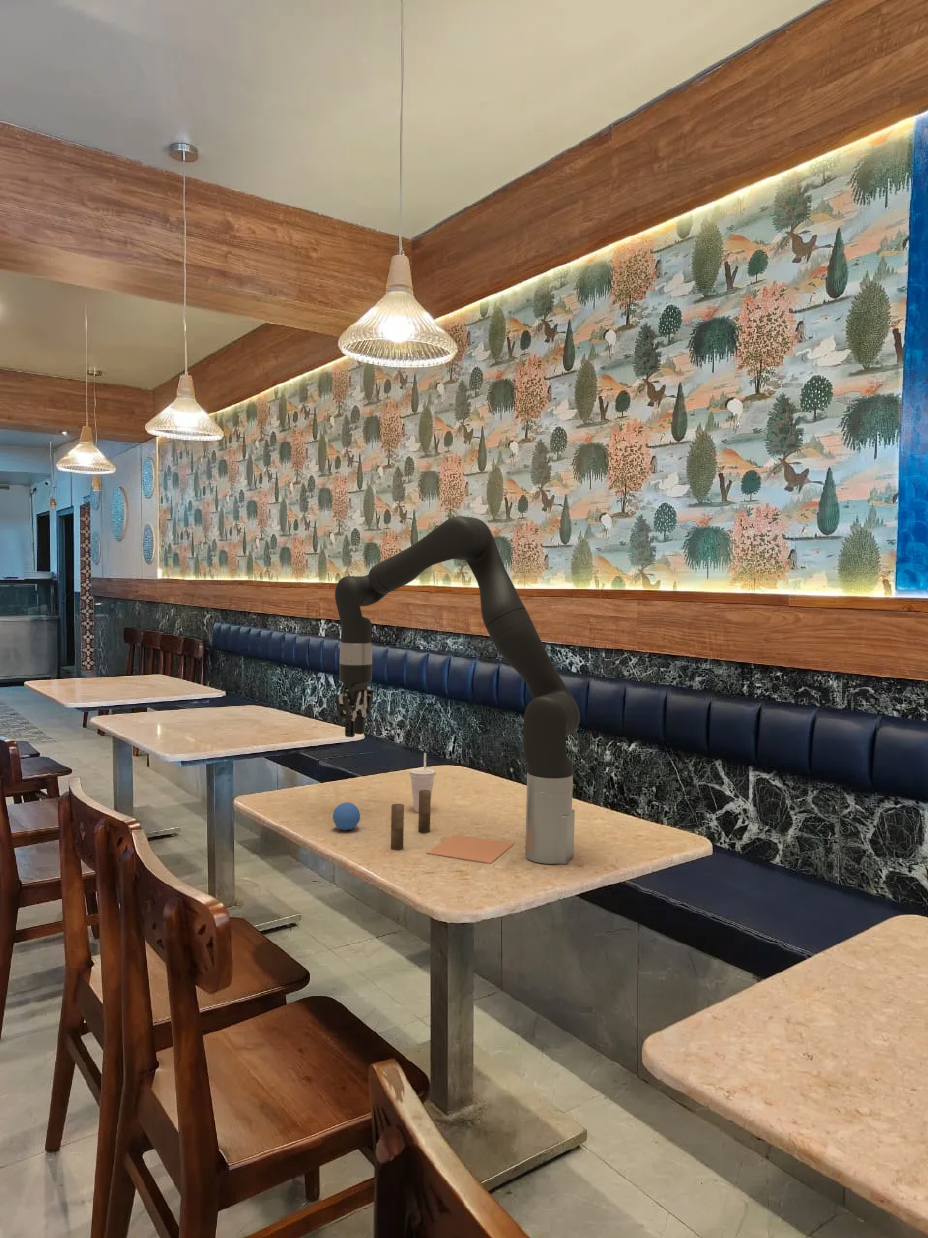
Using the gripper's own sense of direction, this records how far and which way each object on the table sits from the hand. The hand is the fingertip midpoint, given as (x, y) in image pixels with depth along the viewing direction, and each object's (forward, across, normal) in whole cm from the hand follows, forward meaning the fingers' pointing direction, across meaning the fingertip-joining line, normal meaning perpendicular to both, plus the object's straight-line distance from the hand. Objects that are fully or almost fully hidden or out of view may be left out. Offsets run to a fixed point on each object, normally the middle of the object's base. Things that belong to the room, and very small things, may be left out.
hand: (354, 734), depth 199 cm
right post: (+19, -3, -20) cm, 28 cm away
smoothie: (+19, +12, -12) cm, 26 cm away
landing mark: (+19, -10, -34) cm, 40 cm away
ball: (+16, -10, -4) cm, 19 cm away
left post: (+19, -16, -20) cm, 32 cm away
